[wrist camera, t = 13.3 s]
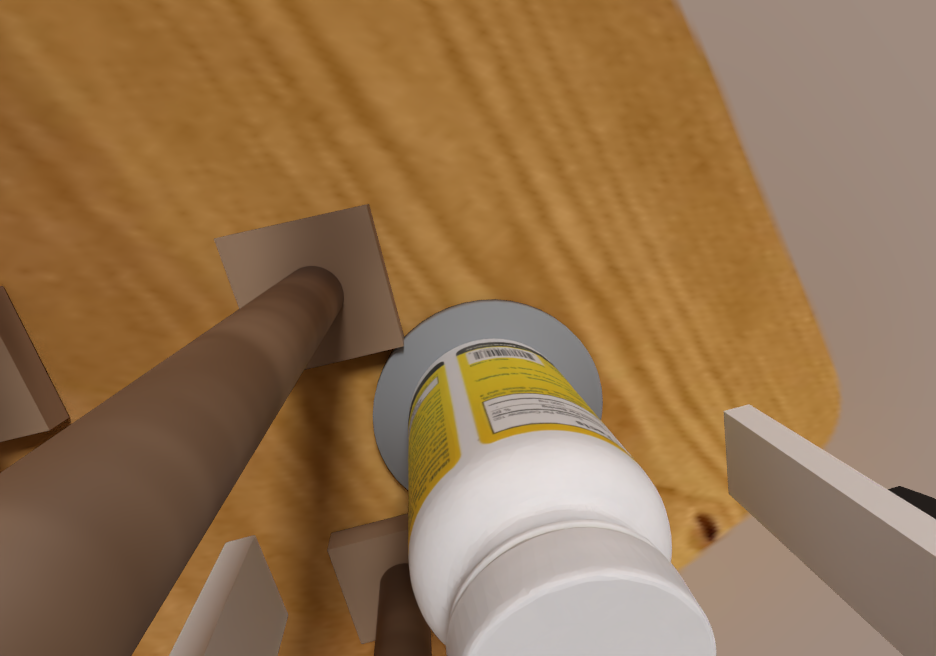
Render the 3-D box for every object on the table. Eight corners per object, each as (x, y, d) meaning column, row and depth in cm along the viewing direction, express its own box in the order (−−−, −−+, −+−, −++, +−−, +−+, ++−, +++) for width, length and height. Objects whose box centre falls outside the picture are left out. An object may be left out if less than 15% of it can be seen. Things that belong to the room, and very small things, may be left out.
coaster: (405, 528, 21) (405, 538, 20) (346, 330, 18) (343, 334, 17) (609, 476, 21) (615, 485, 20) (580, 275, 18) (585, 278, 18)
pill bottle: (462, 507, 20) (519, 868, 9) (376, 390, 18) (325, 670, 7) (593, 429, 20) (808, 709, 9) (519, 302, 18) (675, 463, 7)
